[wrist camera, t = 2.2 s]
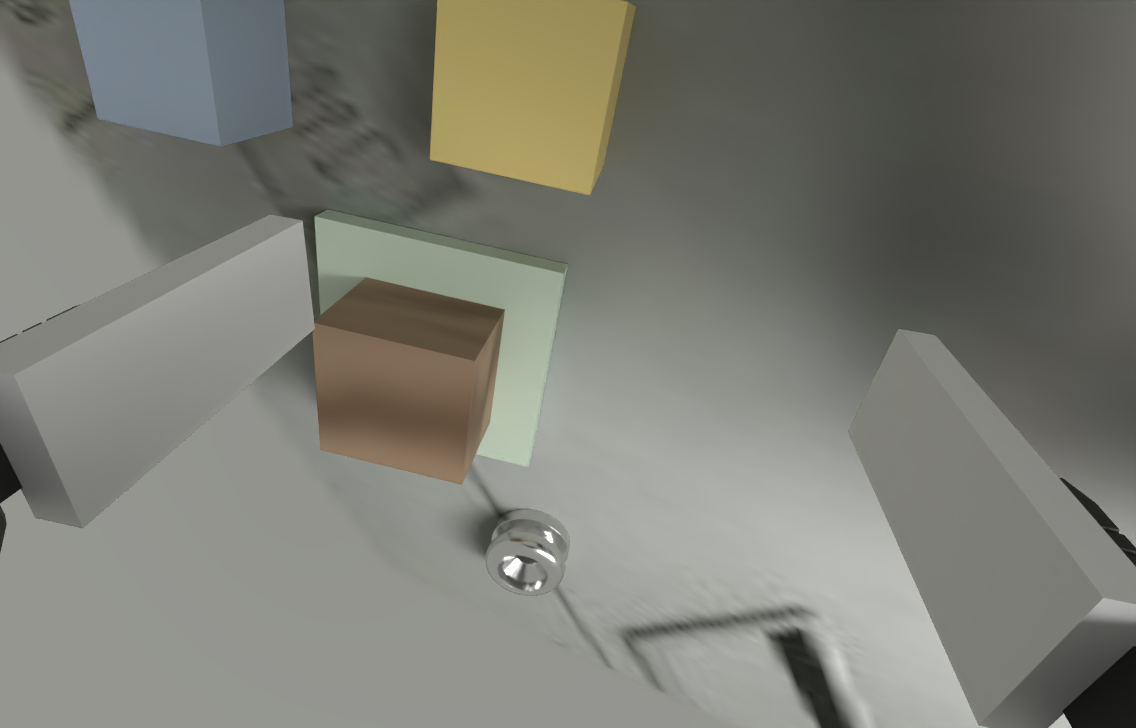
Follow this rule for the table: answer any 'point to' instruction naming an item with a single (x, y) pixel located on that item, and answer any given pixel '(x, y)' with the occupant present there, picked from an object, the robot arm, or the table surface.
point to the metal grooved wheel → (528, 552)
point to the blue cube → (188, 66)
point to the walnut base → (406, 377)
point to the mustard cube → (528, 87)
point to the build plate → (468, 275)
